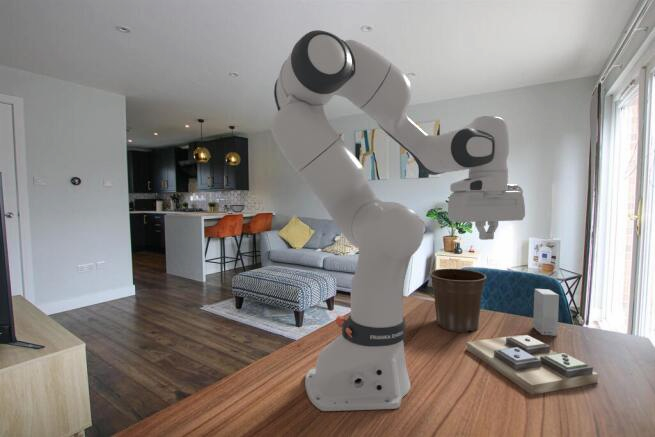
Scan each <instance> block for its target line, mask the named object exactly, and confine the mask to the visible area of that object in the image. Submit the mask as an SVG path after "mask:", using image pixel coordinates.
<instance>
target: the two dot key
mask: <svg viewBox="0 0 655 437" xmlns="http://www.w3.org/2000/svg"><path fill="white" fill-rule="evenodd" d="M500 353H502V354H503V355H505V356H507V357H508V358H510V359H511V360H513V361H515V362H516V363H518V362H525V361H531V360H535V357H534V356H532V355H530V354H528V353H527V352H525V351H523V350H521V349H519V348H518V347H516V348H509V349H502V350H500Z"/></svg>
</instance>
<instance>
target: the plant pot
mask: <svg viewBox="0 0 655 437" xmlns="http://www.w3.org/2000/svg"><path fill="white" fill-rule="evenodd" d="M429 276H430V277H431V278H430V279H431V286H432V287H433V297H434V307H435V316H436V317H435V319H436V324H437V325H438V326H440V327H441V328H442V329H445V330H448V331H452V332H457V333H458V332H459V333H460V332H461V333H467V332H468V331H470V332H474V331H476V330H478V328H479V325H480V314H481V305H482V303H481V302H482V297H483V296H482V295H483V291H484V287H485V281H486V280H487V275H486V274H484V273H482V272H480V271H476V270H471V269H464V268H463V269H462V268H438V269H433V270H431V271H429Z"/></svg>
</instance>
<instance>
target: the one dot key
mask: <svg viewBox="0 0 655 437" xmlns="http://www.w3.org/2000/svg"><path fill="white" fill-rule="evenodd" d="M515 336H516V337H511V339H512V340H514V341H515V342H517V343H519V344H521V345H523V346H525V347H527V348H532V347H539V346H545V344H546V343H545V342H543V341H541V340H539V341H538V339H537V338H535V339H534V337H533V338H532V336H531V335H529V336H528V334H524V336H523V335H522V336H517V335H515ZM530 336H531V337H530ZM536 339H537V340H536Z"/></svg>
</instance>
